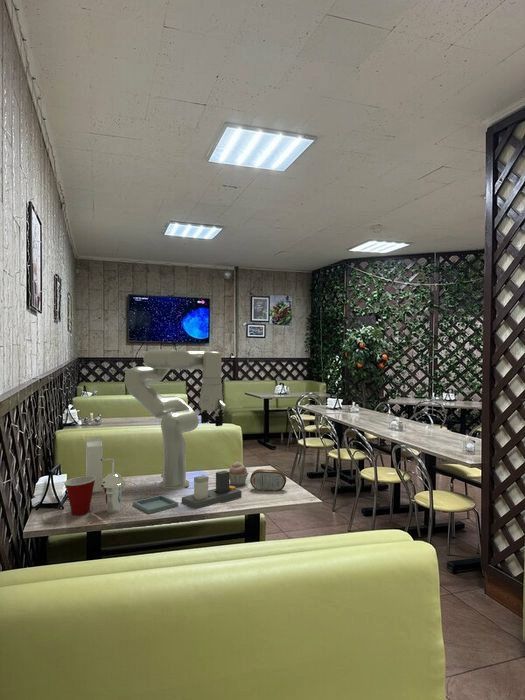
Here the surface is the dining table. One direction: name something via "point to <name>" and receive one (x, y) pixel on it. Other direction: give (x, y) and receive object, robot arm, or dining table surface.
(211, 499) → the power strip
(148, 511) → the tray
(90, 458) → the milk
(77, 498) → the plastic cup
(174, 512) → the dining table surface
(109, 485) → the cup with straw
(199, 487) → the plug
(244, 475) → the cupcake
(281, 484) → the brown oval speaker
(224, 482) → the black plug
